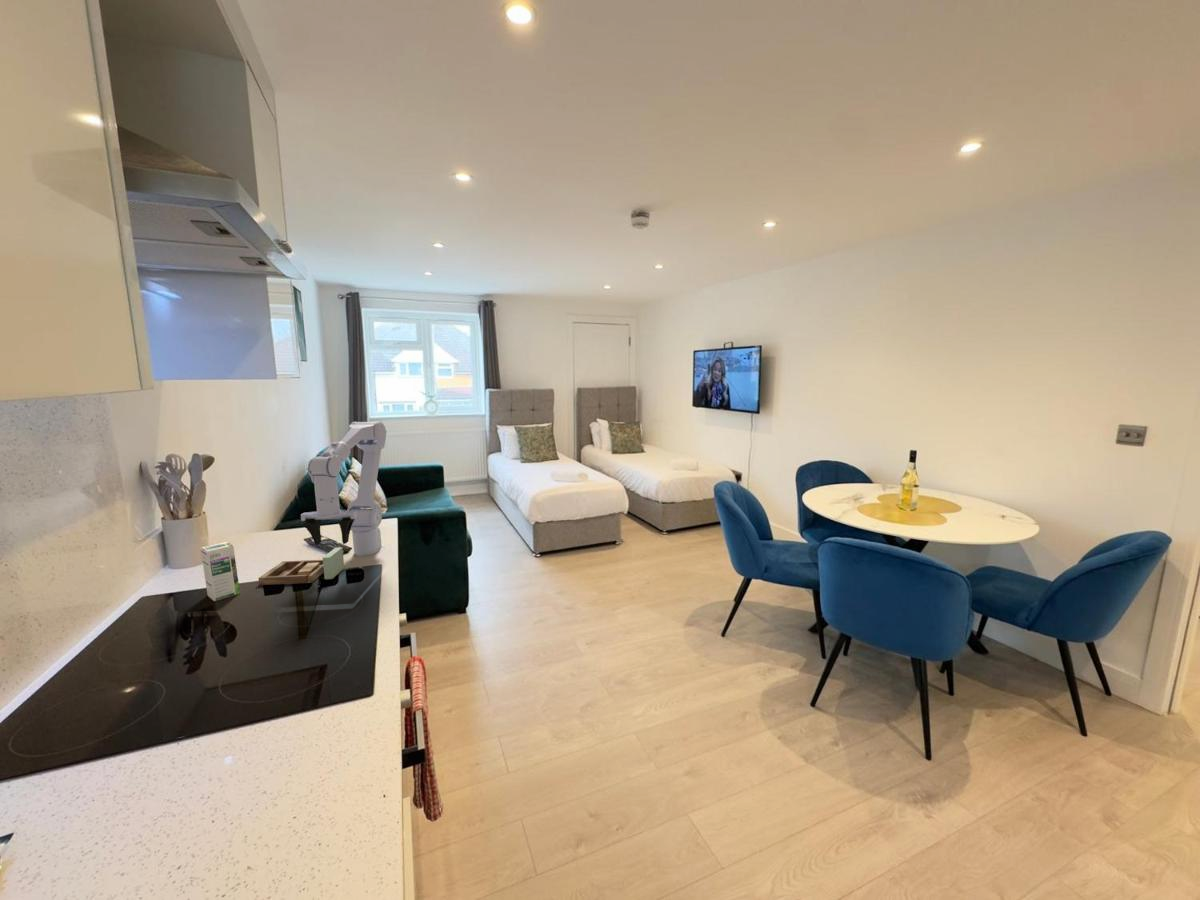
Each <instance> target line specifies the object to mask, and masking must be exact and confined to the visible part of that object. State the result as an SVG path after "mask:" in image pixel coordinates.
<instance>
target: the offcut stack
mask: <svg viewBox="0 0 1200 900" xmlns="http://www.w3.org/2000/svg"><path fill="white" fill-rule="evenodd" d="M320 566H321V565H320V562H317V563H307V564H306V565H305V566H304V567H303V568H302V569H301V570H299V571H298V575H307V577H308V576H309V575H310V574H311V573H313V572H314V571H315V570H316V569H317V568H319V567H320ZM308 579H309V577H308Z"/></svg>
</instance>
